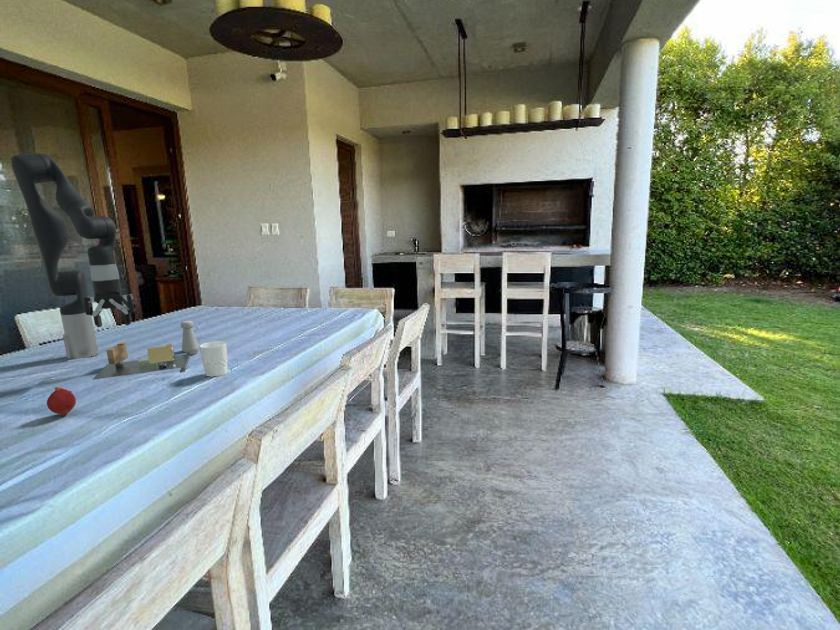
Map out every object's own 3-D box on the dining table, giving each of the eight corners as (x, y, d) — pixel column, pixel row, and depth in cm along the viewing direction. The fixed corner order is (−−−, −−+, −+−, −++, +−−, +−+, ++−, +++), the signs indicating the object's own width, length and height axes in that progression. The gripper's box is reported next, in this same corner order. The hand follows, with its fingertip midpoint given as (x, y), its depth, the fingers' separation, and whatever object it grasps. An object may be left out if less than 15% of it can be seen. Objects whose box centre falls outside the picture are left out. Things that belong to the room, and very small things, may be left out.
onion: (60, 411, 118) (54, 383, 117) (83, 409, 119) (77, 381, 117) (44, 420, 113) (38, 391, 111) (68, 419, 113) (62, 389, 112)
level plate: (93, 384, 139) (89, 367, 138) (107, 368, 156) (105, 353, 155) (185, 371, 149) (182, 355, 148) (190, 357, 165) (187, 343, 164)
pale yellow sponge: (150, 368, 147) (146, 347, 146) (151, 366, 150) (147, 346, 148) (173, 365, 150) (170, 345, 149) (174, 363, 152) (171, 343, 151)
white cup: (234, 370, 148) (231, 341, 146) (217, 378, 141) (213, 348, 139) (216, 369, 150) (212, 340, 148) (198, 376, 143) (193, 346, 141)
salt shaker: (192, 356, 167) (187, 323, 164) (179, 356, 168) (174, 322, 165) (202, 352, 172) (198, 319, 170) (189, 351, 173) (185, 319, 171)
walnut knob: (116, 369, 148) (112, 348, 147) (109, 369, 148) (105, 348, 147) (129, 362, 155) (126, 342, 154) (122, 363, 155) (119, 343, 154)
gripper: (75, 280, 141) (84, 330, 144) (125, 278, 144) (133, 326, 148) (86, 278, 148) (95, 325, 152) (134, 275, 151) (141, 321, 155)
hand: (114, 325), depth 150 cm, fingers open, 8 cm apart
